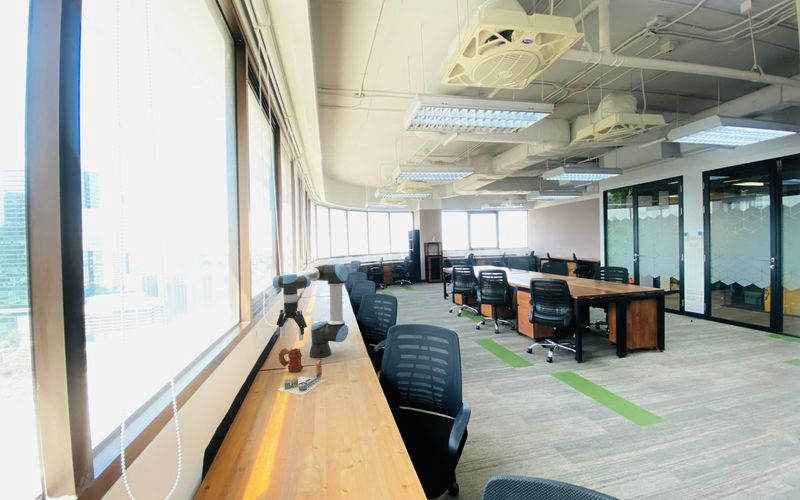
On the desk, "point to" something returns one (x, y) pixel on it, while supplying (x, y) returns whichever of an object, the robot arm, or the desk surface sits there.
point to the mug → (291, 359)
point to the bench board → (303, 391)
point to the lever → (318, 375)
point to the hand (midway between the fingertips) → (291, 339)
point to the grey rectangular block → (287, 384)
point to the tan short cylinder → (294, 383)
